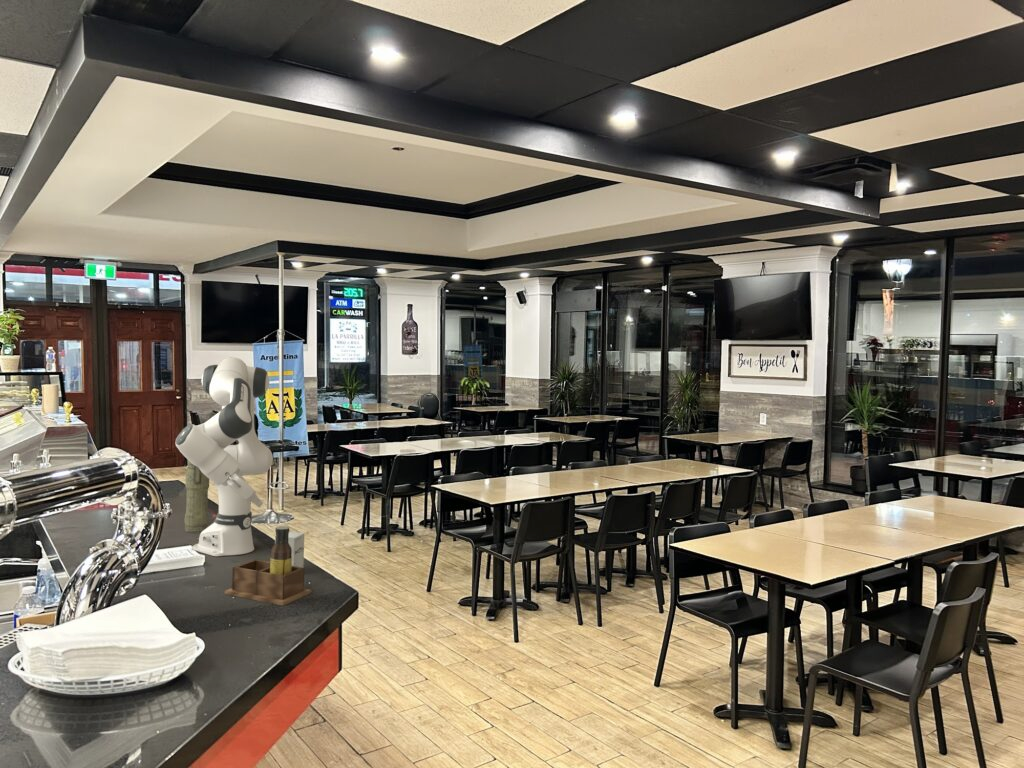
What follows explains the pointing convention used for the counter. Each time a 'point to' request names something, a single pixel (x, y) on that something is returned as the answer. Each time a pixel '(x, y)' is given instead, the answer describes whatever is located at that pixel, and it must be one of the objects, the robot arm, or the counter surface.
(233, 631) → the counter surface
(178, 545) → the counter surface
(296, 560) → the supplement box
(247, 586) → the condiment caddy
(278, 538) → the sauce bottle
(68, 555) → the counter surface
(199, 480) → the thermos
